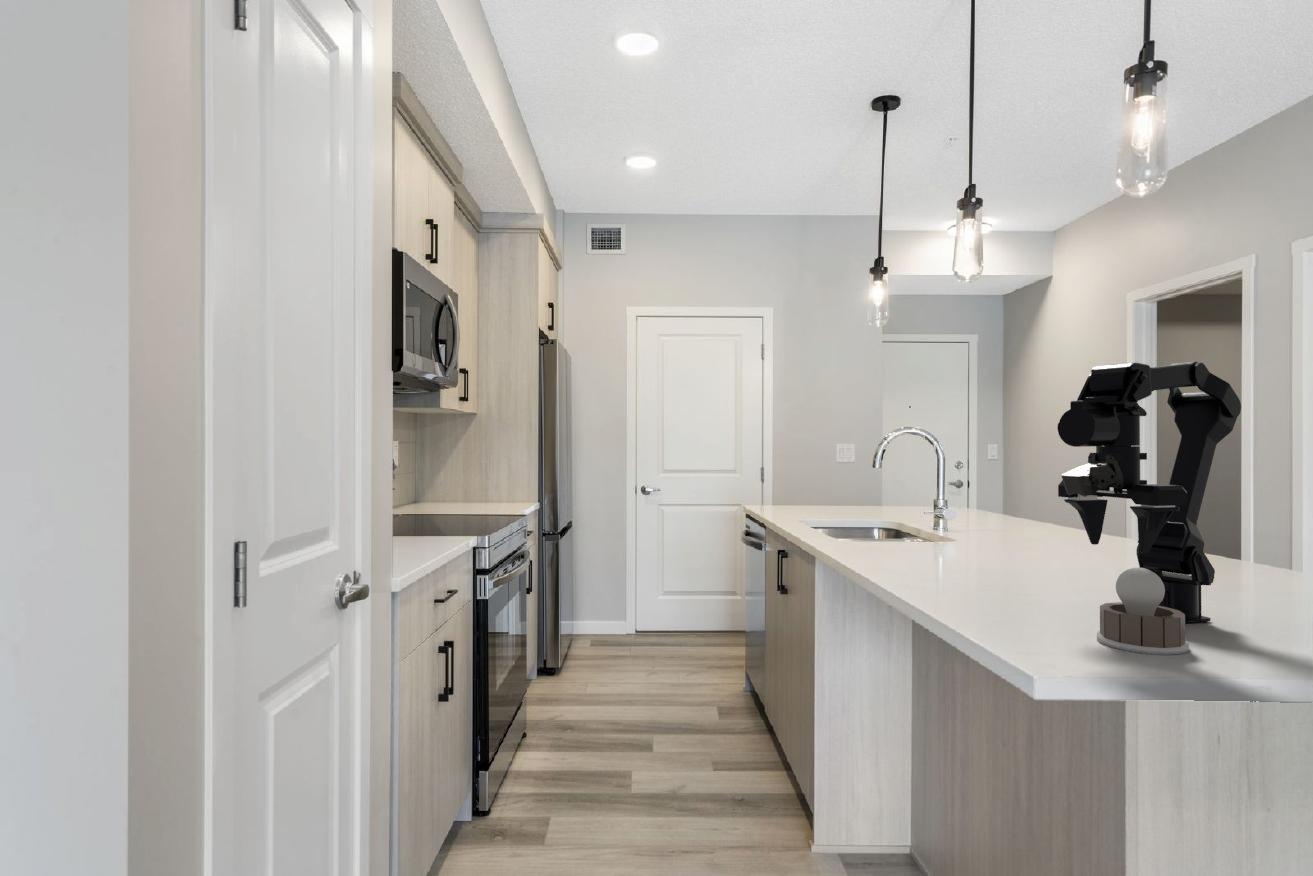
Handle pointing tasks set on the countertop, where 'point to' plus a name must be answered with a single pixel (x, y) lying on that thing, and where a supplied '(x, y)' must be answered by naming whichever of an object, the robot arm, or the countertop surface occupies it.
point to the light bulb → (1140, 591)
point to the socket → (1143, 630)
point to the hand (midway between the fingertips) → (1118, 548)
